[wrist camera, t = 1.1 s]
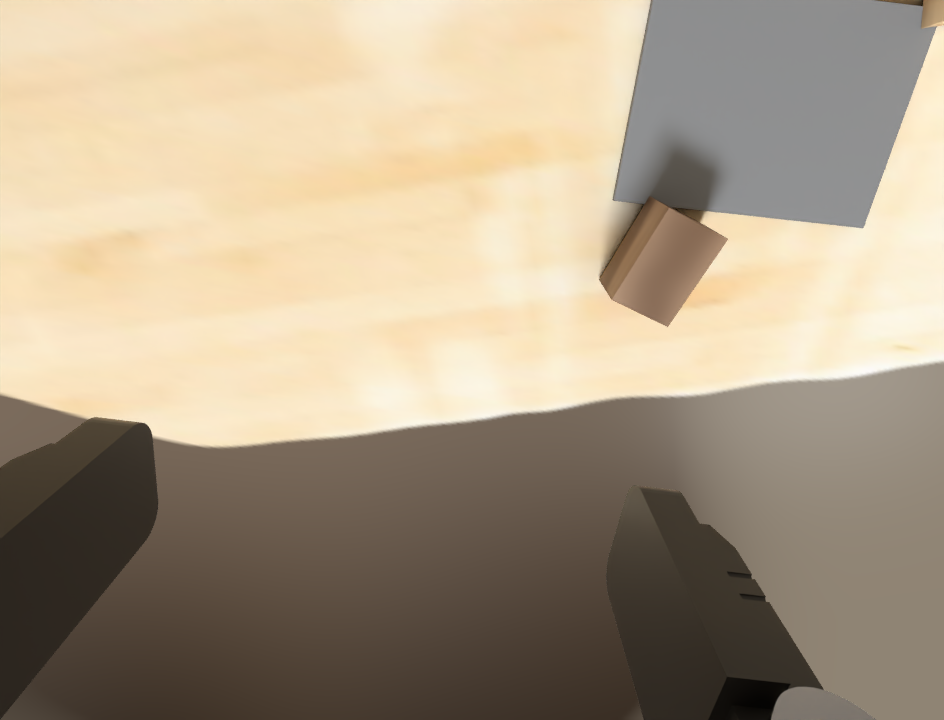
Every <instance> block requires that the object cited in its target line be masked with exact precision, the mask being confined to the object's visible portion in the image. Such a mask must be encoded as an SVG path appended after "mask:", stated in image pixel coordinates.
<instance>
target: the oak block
mask: <svg viewBox="0 0 944 720" xmlns="http://www.w3.org/2000/svg"><path fill="white" fill-rule="evenodd" d="M941 25H944V0H923V12H922V23H921V29H923V28H929V27H935V26H941Z"/></svg>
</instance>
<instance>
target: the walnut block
mask: <svg viewBox="0 0 944 720" xmlns="http://www.w3.org/2000/svg"><path fill="white" fill-rule="evenodd" d="M727 240H728V239H727V238H725V237H724V236H722V235H720V234H718V233H717V232H715V231H713V230H712V229H710V228H708V227H707V226H705V225H703V224H701V223H699V222H698V221H696V220H694V219H692V218H690V217H688V216H686V215H684V214H682V213H681V212H679V211H677V210H675V209H673V208H671V207H669V206H667V205H666V204H664V203H662V202H660V201H658V200H656V199H654V198H652V197H650V196H649V198H648V199H647V201H646V203H645V204H644V206H643V208H642V209H641V211H640V213H639V214H638V216H637V218H636V219H635V221H634V223H633V224H632V226H631V228H630V229H629V231H628V233H627V234H626V236H625V238H624V239H623V241H622V242H621V244H620V246H619V247H618V249H617V251H616V252H615V254H614V256H613V257H612V259H611V261H610V262H609V264H608V266H607V267H606V269H605V271H604V272H603V274H602V276H601V277H600V279H599V280H600V282H601V284H602V285H603V287H604V288H605V290H606V291H607V293H608V295H609V296H610V298H611V299H612V300H613V301H615V302H617V303H619V304H622V305H624V306H626V307H628V308H630V309H632V310H634V311H636V312H638V313H640V314H642V315H644V316H646V317H648V318H650V319H652V320H655V321H657V322H659V323H661V324H663V325H665V326H667V327H668V326H669V324H670V323H671V321H672V320H673V319H674V317H675V316H676V314H677V313H678V311H679V310H680V308H681V307H682V305H683V304H684V303H685V301H686V300H687V298H688V297H689V295H690V294H691V292H692V291H693V289H694V288H695V287H696V285H697V284H698V282H699V281H700V279H701V278H702V276H703V275H704V273H705V272H706V271H707V269H708V268H709V266H710V265H711V263H712V262H713V260H714V259H715V257H716V256H717V255H718V253H719V252H720V250H721V249H722V247H723V246H724V244H725V243H726V241H727Z"/></svg>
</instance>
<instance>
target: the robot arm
mask: <svg viewBox="0 0 944 720" xmlns="http://www.w3.org/2000/svg"><path fill="white" fill-rule="evenodd" d="M157 510H158V495H157V483H156V472H155V461H154V450H153V439H152V433H151V430H150V428H149V427H148V426H147V425H146V424H145V423H139V422H131V421H123V420H115V419H107V418H99V417H95V418H91V419H89V420H87V421H86V422H84V423H83V424H81V425H80V426H79V427H77V428H76V429H75V430H73V431H72V432H71V433H69V434H68V435H66V436H65V437H64V438H62V439H61V440H60V441H58V442H57V443H56V444H49V445H46V446H44V447H41V448H39V449H36V450H34V451H32V452H29V453H27V454H24V455H22V456H20V457H17V458H15V459H12V460H11V461H9V462H8V463H6V464H5V465H3V466H2V467H1V468H0V719H1V718H2V717H3V715H4V714H5V713H6V712H7V711H8V709H9V708H10V707H11V706H12V704H13V703H14V702H15V701H16V699H17V698H18V697H19V696H20V694H21V693H22V692H23V691H24V690H25V688H26V687H27V686H28V685H29V684H30V682H31V681H32V679H34V677H35V676H36V675H37V673H39V671H40V670H41V669H42V668H43V666H44V665H45V664H46V663H47V661H48V660H49V659H50V658H51V657H52V655H53V654H54V653H55V651H56V650H57V649H58V648H59V647H60V645H61V644H62V643H63V642H64V641H65V639H66V638H67V637H68V636H69V634H70V633H71V632H72V631H73V629H74V628H75V627H76V626H77V625H78V623H79V622H80V621H81V620H82V618H83V617H84V616H85V615H86V613H87V612H88V611H89V610H90V608H91V607H92V606H93V605H94V604H95V602H96V601H97V600H98V599H99V597H100V596H101V595H102V594H103V593H104V591H105V590H106V589H107V588H108V587H109V585H110V584H111V583H112V582H113V580H114V579H115V578H116V577H117V575H118V574H119V573H120V572H121V571H122V569H123V568H124V567H125V566H126V564H127V563H128V562H129V561H130V560H131V558H132V557H133V556H134V554H135V553H136V552H137V551H138V550H139V548H140V547H141V546H142V545H143V543H144V542H145V541H146V540H147V538H148V536H149V535H150V533H151V530H152V528H153V526H154V523H155V520H156V515H157ZM751 575H752V574H751V572H750V571H749V569H748V568H747V566H746V564H745V563H744V561H743V560H742V558H741V556H740V555H739V553H738V552H737V550H736V548H735V547H733V546H732V545H731V544H730V543H729V542H728V541H727V540H726V539H725V538H723V537H722V536H721V535H720V534H719V533H718V532H717V531H716V530H715V529H713V528H712V527H711V526H710V525H706V524H699V522H698V521H697V519H696V517H695V515H694V514H693V512H692V510H691V508H690V507H689V505H688V503H687V502H686V500H685V498H684V496H683V495H682V493H681V492H679V491H677V490H669V489H660V488H652V487H645V486H637V485H634V486H632V487H631V488H630V490H629V491H628V493H627V496H626V499H625V502H624V506H623V509H622V512H621V516H620V519H619V523H618V526H617V529H616V533H615V536H614V540H613V543H612V546H611V550H610V553H609V557H608V562H607V573H606V580H607V591H608V596H609V600H610V603H611V606H612V610H613V614H614V617H615V621H616V624H617V628H618V631H619V634H620V638H621V641H622V645H623V648H624V652H625V656H626V659H627V663H628V666H629V669H630V673H631V676H632V680H633V684H634V687H635V690H636V694H637V697H638V701H639V704H640V708H641V712H642V715H643V718H644V720H876V719H875V718H873V717H872V716H871V715H870V714H868V713H867V712H865V711H864V710H863V709H861V708H860V707H858V706H856V705H855V704H853V703H852V702H850V701H848V700H846V699H844V698H842V697H840V696H838V695H835V694H833V693H831V692H828V691H825V690H824V689H823V687H822V686H821V684H820V683H819V681H818V680H817V678H816V676H815V675H814V673H813V671H812V670H811V668H810V667H809V665H808V663H807V662H806V660H805V659H804V657H803V656H802V654H801V653H800V651H799V649H798V647H797V646H796V644H795V643H794V641H793V640H792V638H791V636H790V635H789V633H788V632H787V630H786V628H785V627H784V625H783V624H782V622H781V620H780V619H779V617H778V616H777V614H776V612H775V611H774V609H773V608H772V606H771V604H770V603H769V602H766V601H765V595H764V593H763V592H762V590H761V588H760V587H759V586H758V584H757V582H756V580H755V579H752V578H751Z"/></svg>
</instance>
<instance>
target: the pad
mask: <svg viewBox="0 0 944 720" xmlns="http://www.w3.org/2000/svg"><path fill="white" fill-rule="evenodd" d="M922 12H923V6H917V5H908V4H900V3H892V2H884V1H876V0H651V4H650V10H649V15H648V20H647V25H646V30H645V35H644V41H643V46H642V51H641V56H640V61H639V67H638V72H637V77H636V82H635V87H634V92H633V98H632V103H631V108H630V113H629V118H628V123H627V129H626V134H625V139H624V144H623V149H622V154H621V160H620V165H619V170H618V175H617V180H616V185H615V191H614V196H613V200H614V201H621V202H630V203H639V204H645V203H646V201H647V199H648V198H649V196H650V197H652V198H654V199H656V200H658V201H660V202H662V203H664V204H666V205H667V206H669V207H675V208H685V209H694V210H703V211H712V212H721V213H730V214H739V215H748V216H757V217H766V218H775V219H785V220H794V221H803V222H812V223H821V224H830V225H839V226H848V227H857V228H863V227H864V225H865V222H866V219H867V216H868V214H869V211H870V208H871V205H872V203H873V200H874V197H875V194H876V192H877V189H878V186H879V183H880V181H881V178H882V175H883V172H884V170H885V167H886V164H887V161H888V159H889V156H890V153H891V150H892V148H893V145H894V142H895V139H896V137H897V134H898V131H899V129H900V126H901V123H902V120H903V118H904V115H905V112H906V109H907V107H908V104H909V101H910V98H911V96H912V93H913V90H914V87H915V85H916V82H917V79H918V76H919V74H920V71H921V68H922V65H923V63H924V60H925V57H926V54H927V52H928V49H929V46H930V43H931V41H932V38H933V35H934V33H935V30H936V27H937V26H935V27H929V28H923V29H921V23H922Z"/></svg>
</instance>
